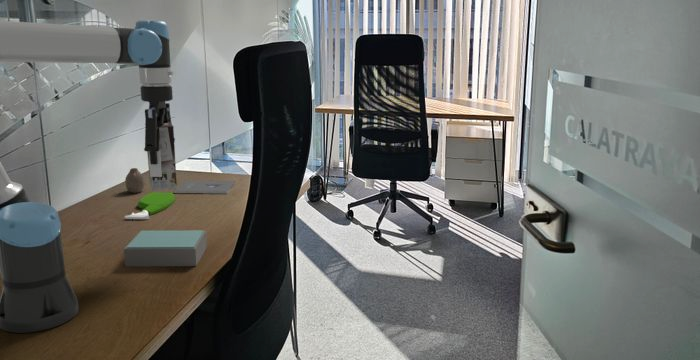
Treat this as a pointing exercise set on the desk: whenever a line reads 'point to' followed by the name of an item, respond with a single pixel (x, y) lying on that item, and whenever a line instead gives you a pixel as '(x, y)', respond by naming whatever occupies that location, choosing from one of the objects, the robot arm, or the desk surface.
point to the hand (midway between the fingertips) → (162, 171)
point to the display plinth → (166, 248)
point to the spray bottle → (152, 204)
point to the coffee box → (165, 160)
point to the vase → (134, 181)
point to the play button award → (205, 187)
